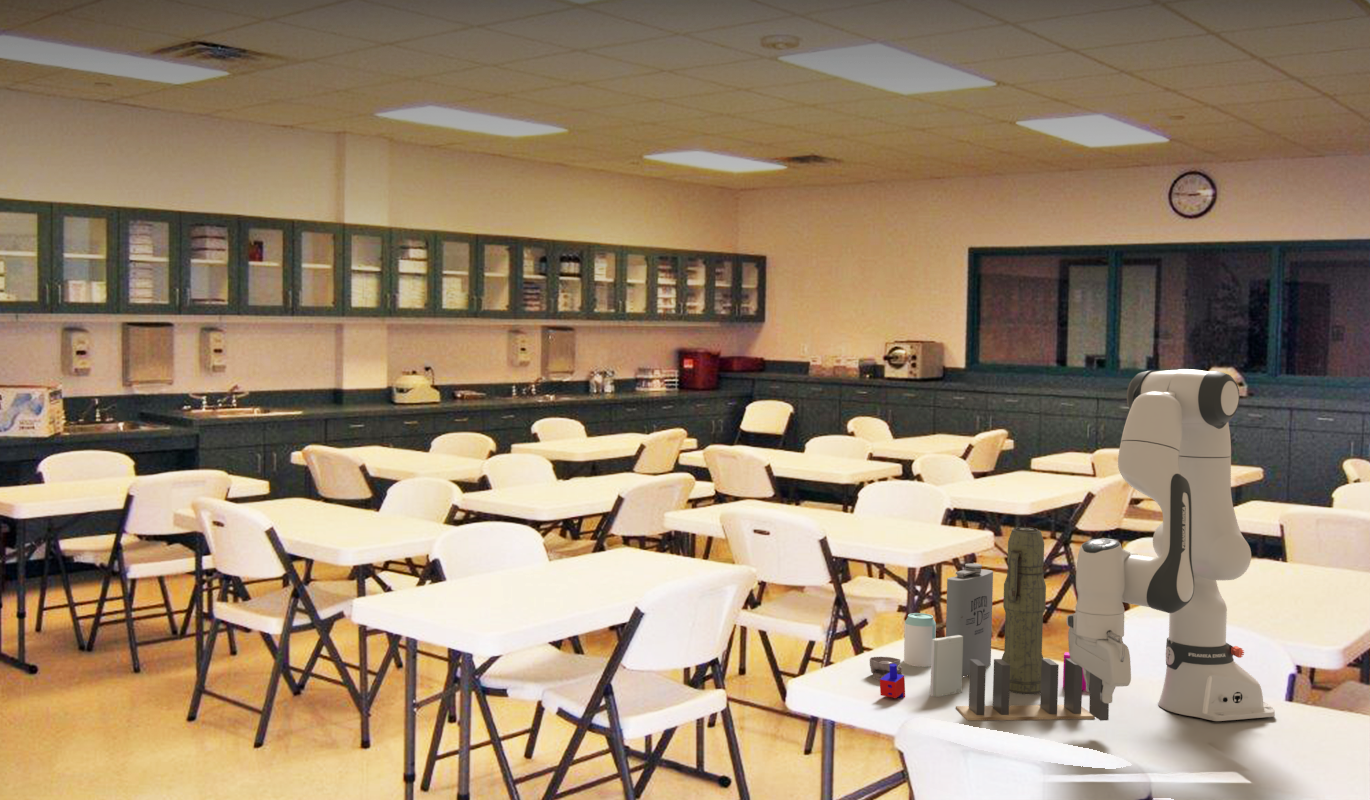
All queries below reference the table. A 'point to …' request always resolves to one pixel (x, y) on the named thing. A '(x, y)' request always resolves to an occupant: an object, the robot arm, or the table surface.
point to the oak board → (1023, 713)
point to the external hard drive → (946, 665)
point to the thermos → (1024, 609)
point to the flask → (971, 613)
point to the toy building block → (892, 684)
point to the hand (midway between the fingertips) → (1098, 697)
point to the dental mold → (883, 666)
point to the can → (919, 639)
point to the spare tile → (1097, 699)
